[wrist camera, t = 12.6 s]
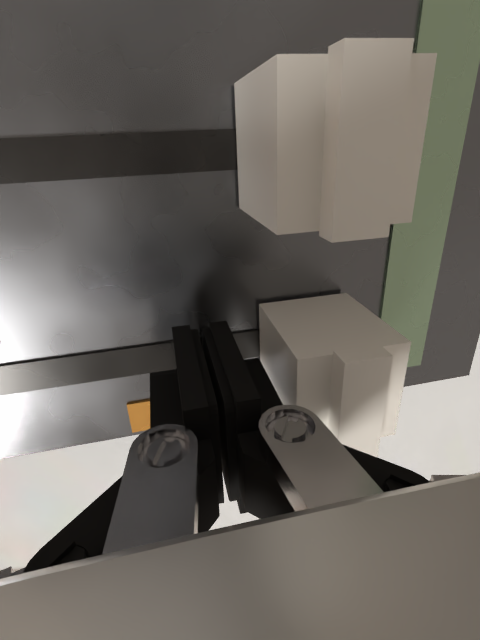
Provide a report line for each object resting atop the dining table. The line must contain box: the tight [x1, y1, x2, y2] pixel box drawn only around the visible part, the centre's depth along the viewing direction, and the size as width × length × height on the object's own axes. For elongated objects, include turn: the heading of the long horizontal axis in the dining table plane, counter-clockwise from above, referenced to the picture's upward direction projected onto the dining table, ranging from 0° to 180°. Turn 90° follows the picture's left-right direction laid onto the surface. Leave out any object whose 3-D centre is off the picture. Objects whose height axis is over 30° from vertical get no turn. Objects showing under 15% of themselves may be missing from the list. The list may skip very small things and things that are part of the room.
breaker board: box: [0, 0, 480, 459], centre depth 10 cm, size 18×26×2 cm
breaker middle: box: [234, 38, 437, 243], centre depth 8 cm, size 3×3×4 cm
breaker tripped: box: [259, 293, 411, 457], centre depth 11 cm, size 3×3×4 cm
